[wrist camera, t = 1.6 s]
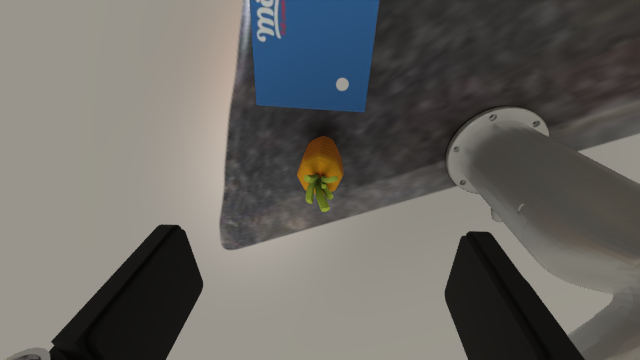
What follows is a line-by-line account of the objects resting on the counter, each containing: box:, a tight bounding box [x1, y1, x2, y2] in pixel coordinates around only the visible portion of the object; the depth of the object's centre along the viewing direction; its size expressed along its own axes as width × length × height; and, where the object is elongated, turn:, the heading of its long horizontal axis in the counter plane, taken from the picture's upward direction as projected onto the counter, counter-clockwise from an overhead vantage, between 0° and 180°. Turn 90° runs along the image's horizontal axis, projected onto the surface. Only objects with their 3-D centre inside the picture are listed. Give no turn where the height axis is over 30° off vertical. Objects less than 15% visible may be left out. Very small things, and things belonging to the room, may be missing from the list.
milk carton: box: [250, 0, 379, 112], centre depth 22 cm, size 10×6×20 cm, turn 177°
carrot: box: [297, 136, 343, 212], centre depth 31 cm, size 5×5×15 cm
